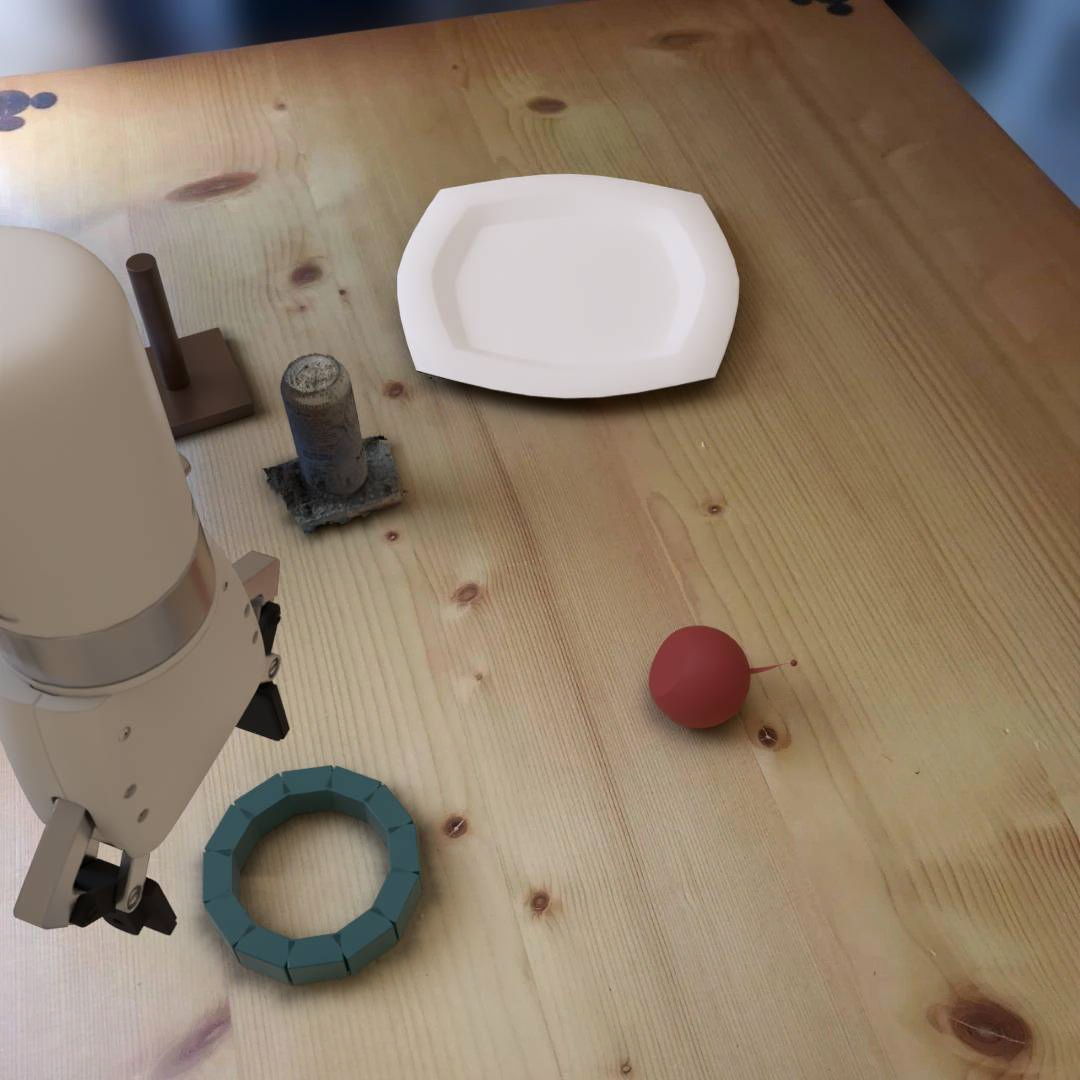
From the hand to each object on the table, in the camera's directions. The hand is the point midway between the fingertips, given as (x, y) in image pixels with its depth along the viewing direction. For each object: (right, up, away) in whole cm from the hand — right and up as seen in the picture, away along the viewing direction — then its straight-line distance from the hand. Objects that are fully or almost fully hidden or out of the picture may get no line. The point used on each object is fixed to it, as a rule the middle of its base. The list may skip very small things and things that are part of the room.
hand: (202, 817), depth 57 cm
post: (-12, +23, +40) cm, 48 cm away
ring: (+2, -7, +16) cm, 18 cm away
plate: (+17, +31, +47) cm, 59 cm away
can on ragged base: (+1, +16, +34) cm, 38 cm away
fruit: (+25, +2, +24) cm, 35 cm away
